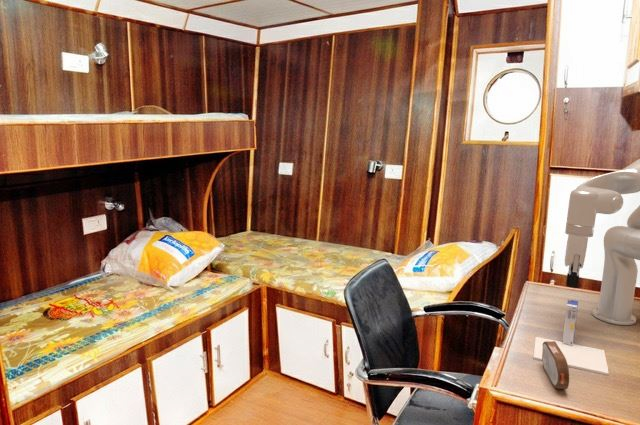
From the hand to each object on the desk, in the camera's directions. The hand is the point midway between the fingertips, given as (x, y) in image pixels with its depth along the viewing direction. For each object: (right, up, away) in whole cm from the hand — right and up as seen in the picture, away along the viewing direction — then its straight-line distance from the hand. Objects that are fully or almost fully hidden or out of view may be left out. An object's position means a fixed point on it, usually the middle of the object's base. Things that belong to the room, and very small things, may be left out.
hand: (571, 286), depth 144 cm
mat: (-9, -17, -14) cm, 24 cm away
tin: (-19, -20, -26) cm, 38 cm away
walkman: (-4, -16, -6) cm, 17 cm away
